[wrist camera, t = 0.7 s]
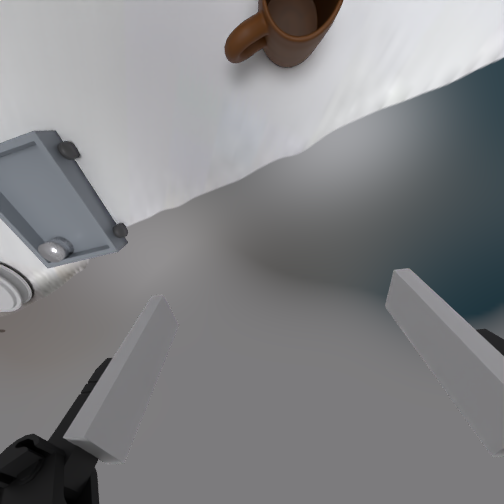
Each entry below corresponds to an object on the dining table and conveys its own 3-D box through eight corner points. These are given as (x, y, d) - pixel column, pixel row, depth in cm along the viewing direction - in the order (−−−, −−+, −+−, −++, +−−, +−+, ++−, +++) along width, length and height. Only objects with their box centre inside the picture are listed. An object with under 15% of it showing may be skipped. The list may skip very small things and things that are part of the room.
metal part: (47, 238, 40) (32, 246, 37) (64, 234, 39) (50, 241, 36) (62, 255, 42) (49, 264, 39) (78, 251, 41) (66, 260, 38)
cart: (-32, 161, 34) (-60, 165, 31) (63, 127, 31) (42, 127, 28) (56, 260, 44) (41, 269, 41) (134, 241, 41) (125, 249, 38)
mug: (247, 103, 29) (243, 93, 21) (216, 38, 26) (197, -4, 17) (330, 43, 26) (363, 4, 18) (306, -40, 22) (334, -136, 14)
